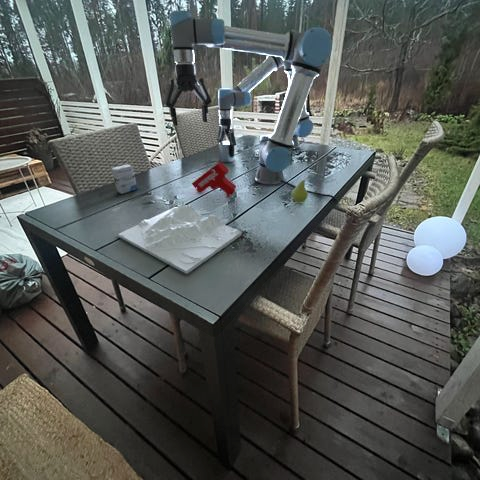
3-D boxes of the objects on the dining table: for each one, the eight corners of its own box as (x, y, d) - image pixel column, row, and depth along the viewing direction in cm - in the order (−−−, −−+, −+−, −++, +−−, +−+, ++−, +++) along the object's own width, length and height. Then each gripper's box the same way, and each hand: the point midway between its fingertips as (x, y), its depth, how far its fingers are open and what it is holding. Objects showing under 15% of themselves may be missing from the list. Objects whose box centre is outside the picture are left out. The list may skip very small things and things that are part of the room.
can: (236, 160, 176) (236, 142, 170) (226, 163, 171) (225, 145, 165) (227, 157, 181) (226, 140, 175) (217, 160, 176) (216, 142, 170)
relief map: (186, 274, 80) (184, 260, 77) (118, 236, 97) (114, 224, 95) (241, 234, 98) (241, 222, 95) (176, 209, 116) (174, 198, 113)
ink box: (133, 186, 138) (127, 163, 132) (137, 189, 135) (132, 165, 129) (116, 191, 133) (110, 167, 127) (121, 194, 130) (114, 170, 124)
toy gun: (240, 187, 127) (221, 160, 123) (237, 190, 124) (218, 163, 120) (214, 205, 137) (195, 180, 133) (210, 208, 134) (191, 183, 130)
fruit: (288, 200, 123) (290, 174, 116) (302, 197, 125) (305, 172, 119) (296, 206, 118) (299, 179, 111) (310, 203, 120) (314, 177, 114)
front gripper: (209, 63, 112) (212, 119, 123) (149, 64, 100) (159, 125, 112) (218, 63, 107) (220, 121, 118) (156, 63, 95) (165, 128, 107)
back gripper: (210, 115, 169) (212, 151, 180) (231, 121, 152) (232, 159, 164) (220, 114, 172) (221, 149, 184) (242, 119, 156) (242, 157, 168)
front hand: (190, 123), depth 115 cm, fingers open, 13 cm apart
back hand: (226, 154), depth 174 cm, fingers open, 11 cm apart
